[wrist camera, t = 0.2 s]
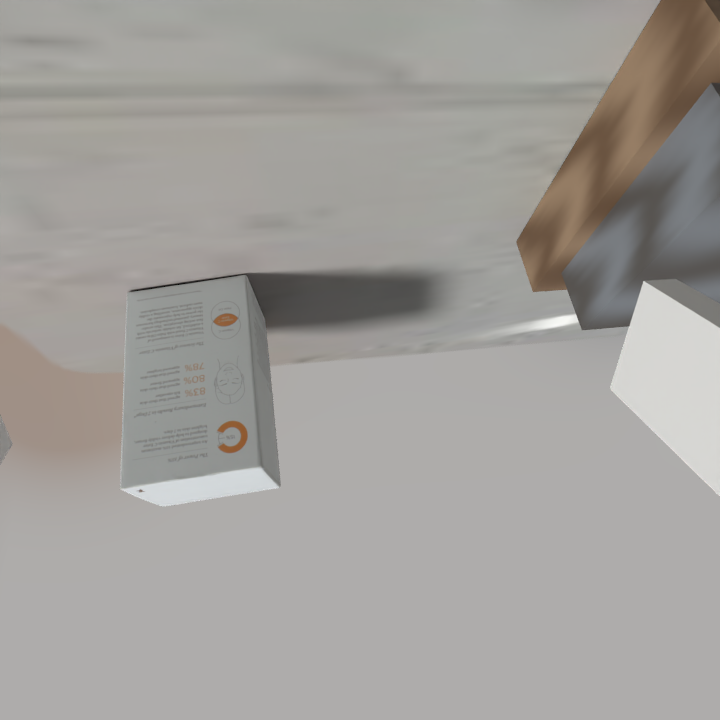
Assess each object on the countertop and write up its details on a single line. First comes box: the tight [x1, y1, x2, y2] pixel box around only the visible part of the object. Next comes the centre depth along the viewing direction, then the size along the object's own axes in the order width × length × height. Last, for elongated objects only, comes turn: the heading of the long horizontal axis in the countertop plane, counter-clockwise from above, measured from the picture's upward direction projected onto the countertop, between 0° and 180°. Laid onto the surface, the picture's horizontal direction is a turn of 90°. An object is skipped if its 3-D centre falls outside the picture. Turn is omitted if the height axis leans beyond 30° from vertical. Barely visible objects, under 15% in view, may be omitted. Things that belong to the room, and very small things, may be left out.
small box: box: [120, 275, 280, 507], centre depth 34 cm, size 8×6×13 cm
